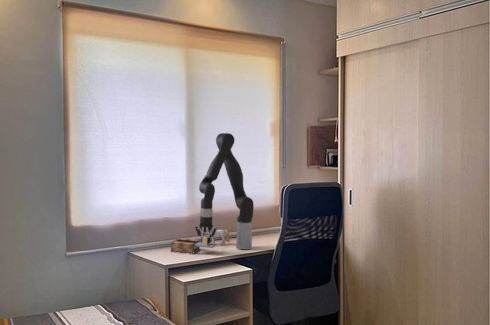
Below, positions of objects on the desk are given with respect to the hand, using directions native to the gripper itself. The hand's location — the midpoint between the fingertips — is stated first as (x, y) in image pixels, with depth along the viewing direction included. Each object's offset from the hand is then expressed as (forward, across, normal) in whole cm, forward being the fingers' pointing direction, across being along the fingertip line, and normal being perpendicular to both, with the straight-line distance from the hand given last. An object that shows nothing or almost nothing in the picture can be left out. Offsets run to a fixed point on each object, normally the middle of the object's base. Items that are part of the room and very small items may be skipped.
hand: (205, 243), depth 302 cm
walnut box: (+6, +13, 0) cm, 14 cm away
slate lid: (+1, 0, 0) cm, 1 cm away
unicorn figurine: (+6, -1, -18) cm, 19 cm away
